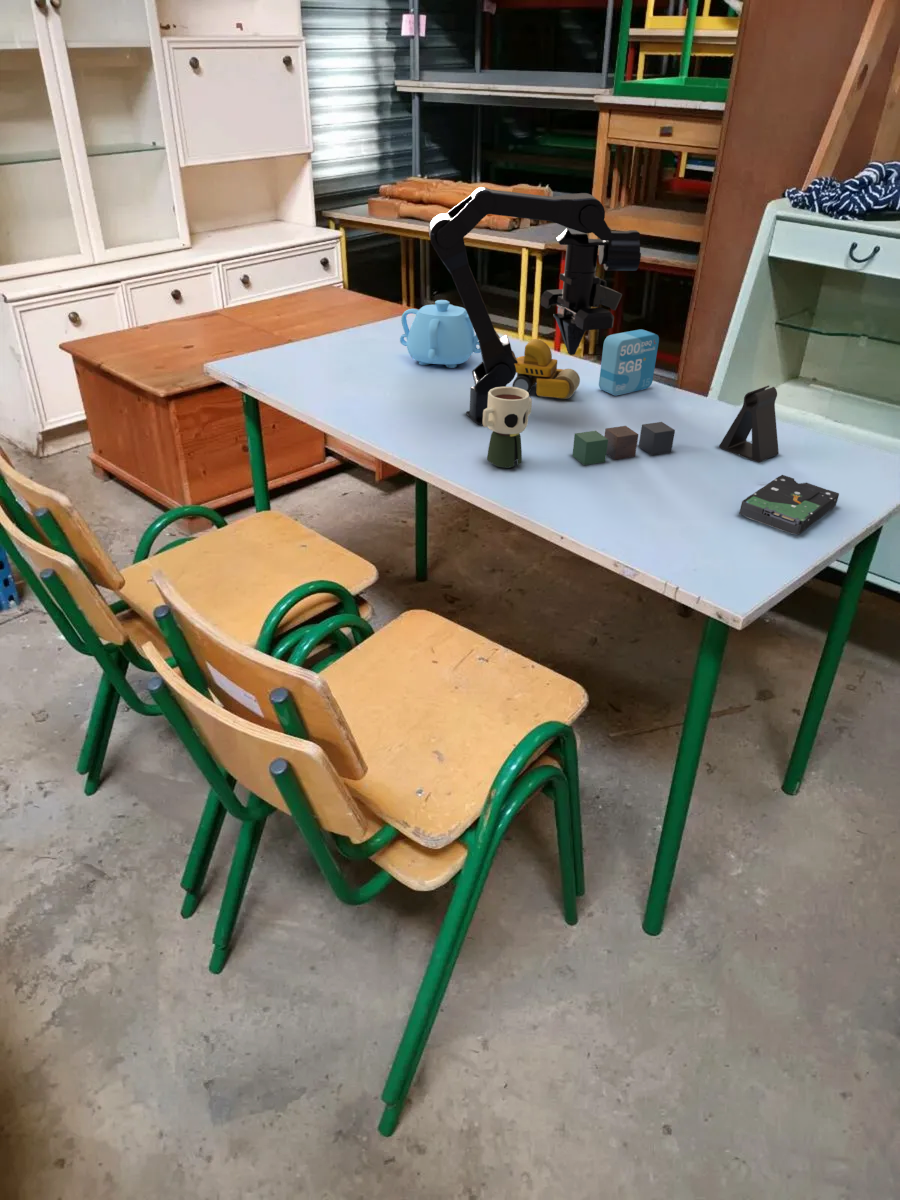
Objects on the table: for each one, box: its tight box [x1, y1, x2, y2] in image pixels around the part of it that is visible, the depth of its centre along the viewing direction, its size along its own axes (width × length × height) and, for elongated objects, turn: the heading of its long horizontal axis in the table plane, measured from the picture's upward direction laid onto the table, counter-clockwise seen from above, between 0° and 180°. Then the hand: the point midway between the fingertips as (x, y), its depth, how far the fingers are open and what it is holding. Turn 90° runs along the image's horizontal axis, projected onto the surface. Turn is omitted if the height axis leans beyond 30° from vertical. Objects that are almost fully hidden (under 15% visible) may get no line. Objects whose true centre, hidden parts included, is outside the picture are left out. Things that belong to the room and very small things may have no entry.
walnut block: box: [603, 425, 639, 461], centre depth 160 cm, size 4×4×4 cm
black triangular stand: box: [718, 385, 780, 463], centre depth 161 cm, size 9×6×12 cm, turn 40°
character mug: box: [482, 386, 533, 468], centre depth 153 cm, size 11×7×13 cm, turn 128°
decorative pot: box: [399, 299, 481, 369], centre depth 201 cm, size 16×16×14 cm
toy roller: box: [512, 338, 581, 400], centre depth 186 cm, size 9×14×10 cm, turn 71°
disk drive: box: [738, 474, 840, 536], centre depth 143 cm, size 10×3×15 cm
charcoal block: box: [638, 421, 676, 456], centre depth 163 cm, size 4×4×4 cm
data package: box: [598, 328, 660, 397], centre depth 188 cm, size 12×4×12 cm, turn 123°
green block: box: [571, 430, 608, 466], centre depth 158 cm, size 4×4×4 cm
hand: (571, 354), depth 169 cm, fingers closed
